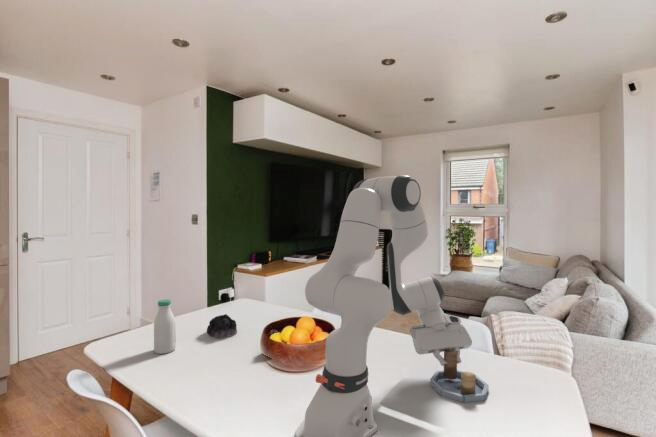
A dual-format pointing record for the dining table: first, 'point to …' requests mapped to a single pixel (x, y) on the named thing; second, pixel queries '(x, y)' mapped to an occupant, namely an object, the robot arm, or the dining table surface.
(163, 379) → the dining table surface
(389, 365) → the dining table surface
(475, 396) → the ring tray
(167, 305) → the milk bottle
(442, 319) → the robot arm
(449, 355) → the walnut bead
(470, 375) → the oak bead
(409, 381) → the dining table surface
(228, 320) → the black rock
